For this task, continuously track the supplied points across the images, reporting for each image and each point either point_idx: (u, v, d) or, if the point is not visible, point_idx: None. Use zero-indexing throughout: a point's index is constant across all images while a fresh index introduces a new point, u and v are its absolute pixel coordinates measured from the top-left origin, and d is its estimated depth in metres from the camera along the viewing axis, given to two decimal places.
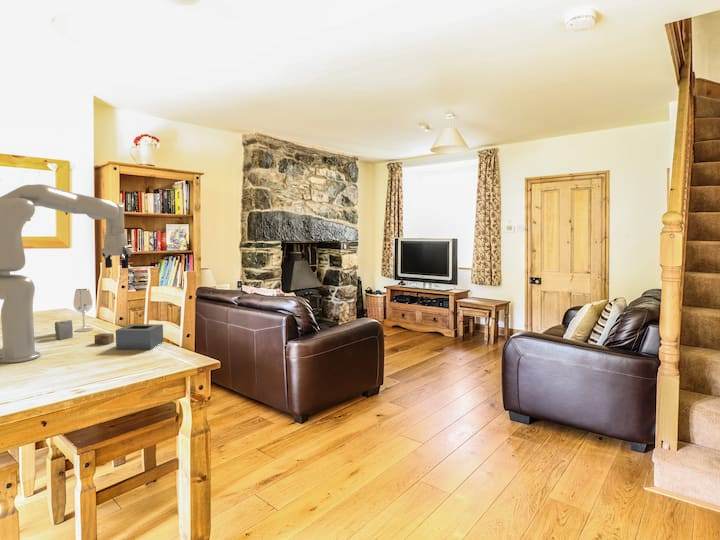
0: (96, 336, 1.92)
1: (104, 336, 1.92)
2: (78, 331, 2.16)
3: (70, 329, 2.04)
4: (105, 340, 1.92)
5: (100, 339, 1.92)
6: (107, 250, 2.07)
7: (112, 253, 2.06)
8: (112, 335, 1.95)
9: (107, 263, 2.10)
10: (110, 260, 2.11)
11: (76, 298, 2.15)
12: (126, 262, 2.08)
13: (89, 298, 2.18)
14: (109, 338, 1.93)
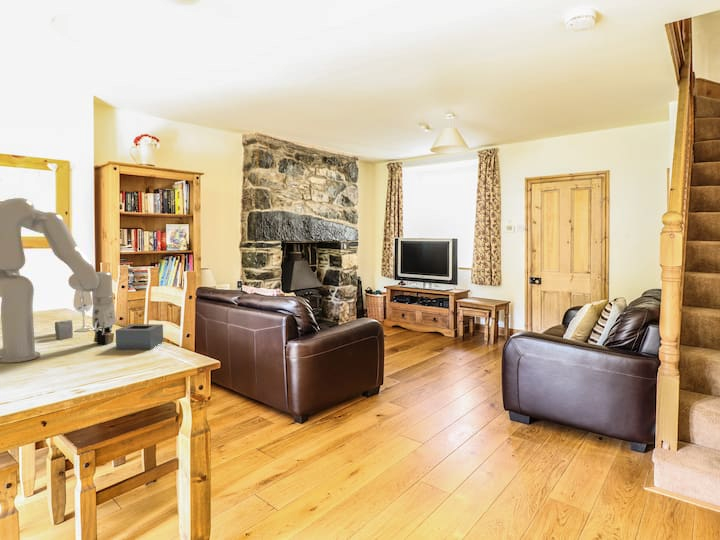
0: None
1: None
2: (78, 331, 2.16)
3: (70, 329, 2.04)
4: (105, 339, 1.92)
5: None
6: (107, 322, 1.92)
7: (111, 324, 1.95)
8: (112, 335, 1.95)
9: None
10: None
11: (76, 298, 2.15)
12: None
13: (89, 298, 2.18)
14: (109, 337, 1.93)
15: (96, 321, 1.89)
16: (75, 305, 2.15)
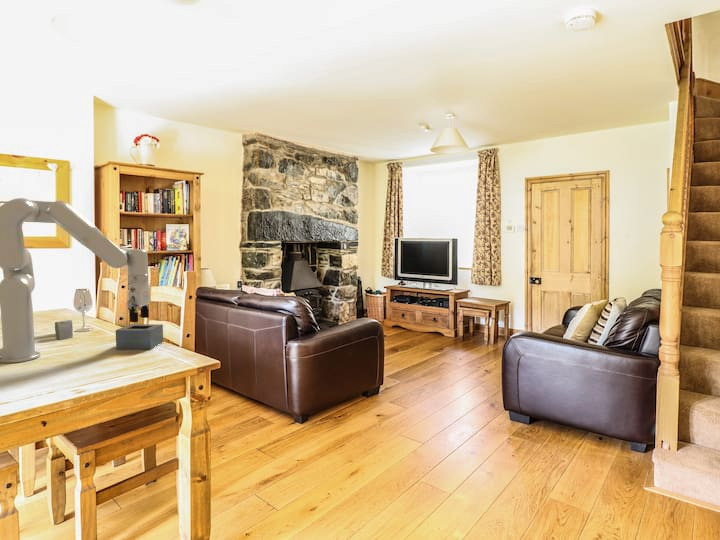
0: None
1: None
2: (78, 331, 2.16)
3: (70, 329, 2.04)
4: None
5: None
6: (143, 301, 1.86)
7: (146, 303, 1.89)
8: None
9: None
10: None
11: (76, 298, 2.15)
12: None
13: (89, 298, 2.18)
14: None
15: (132, 297, 1.83)
16: (75, 305, 2.15)
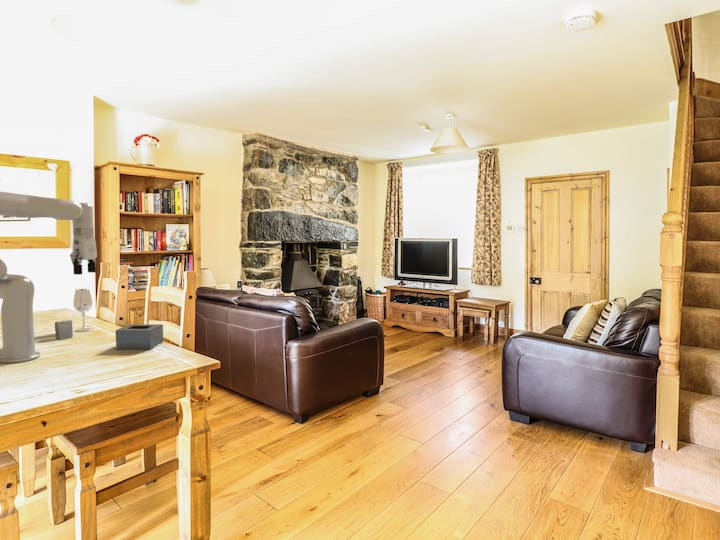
0: None
1: None
2: (78, 331, 2.16)
3: (70, 329, 2.04)
4: None
5: None
6: (88, 254, 1.88)
7: (92, 257, 1.91)
8: None
9: None
10: None
11: (76, 298, 2.15)
12: None
13: (89, 298, 2.18)
14: None
15: (75, 250, 1.85)
16: (75, 305, 2.15)
